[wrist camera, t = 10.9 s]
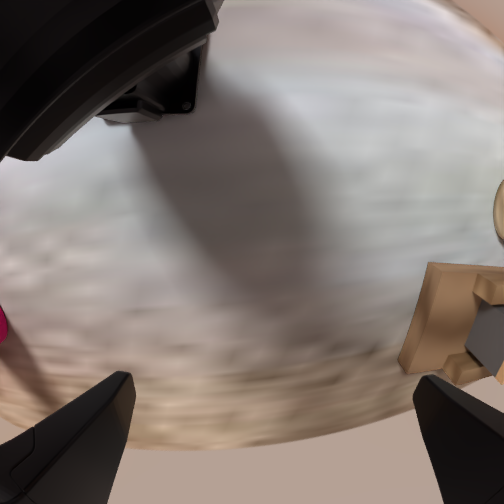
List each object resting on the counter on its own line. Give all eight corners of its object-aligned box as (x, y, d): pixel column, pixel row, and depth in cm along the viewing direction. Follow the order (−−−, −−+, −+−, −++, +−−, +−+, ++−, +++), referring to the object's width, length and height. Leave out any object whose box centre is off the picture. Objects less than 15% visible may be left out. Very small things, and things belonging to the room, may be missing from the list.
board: (428, 262, 20) (462, 285, 15) (508, 267, 20) (538, 285, 16) (397, 360, 22) (419, 393, 18) (478, 348, 23) (501, 372, 18)
